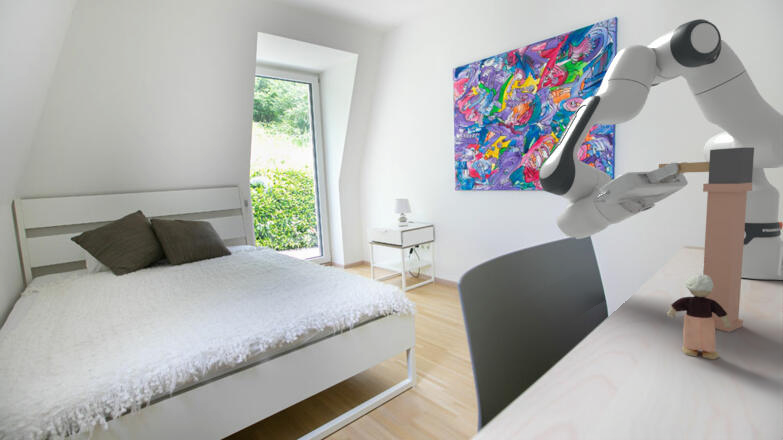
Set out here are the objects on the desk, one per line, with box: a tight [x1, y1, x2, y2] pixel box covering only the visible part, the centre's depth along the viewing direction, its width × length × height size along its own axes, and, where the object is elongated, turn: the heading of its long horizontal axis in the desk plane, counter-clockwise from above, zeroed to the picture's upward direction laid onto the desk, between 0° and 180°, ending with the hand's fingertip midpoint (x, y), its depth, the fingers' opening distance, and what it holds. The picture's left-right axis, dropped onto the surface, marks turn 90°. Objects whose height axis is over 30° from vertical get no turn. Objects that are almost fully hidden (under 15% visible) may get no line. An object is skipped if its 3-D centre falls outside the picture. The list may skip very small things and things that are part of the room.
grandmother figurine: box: [666, 273, 732, 360], centre depth 58 cm, size 8×4×13 cm, turn 65°
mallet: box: [658, 148, 754, 184], centre depth 70 cm, size 4×13×6 cm, turn 27°
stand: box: [702, 183, 753, 333], centre depth 68 cm, size 5×5×26 cm
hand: (682, 165), depth 72 cm, fingers open, 2 cm apart
